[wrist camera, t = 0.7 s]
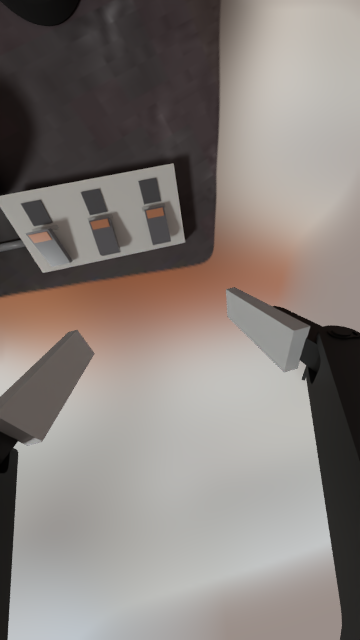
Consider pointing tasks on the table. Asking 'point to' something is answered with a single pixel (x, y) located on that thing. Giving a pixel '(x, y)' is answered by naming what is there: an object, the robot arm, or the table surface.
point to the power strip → (96, 213)
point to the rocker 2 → (105, 236)
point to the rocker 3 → (157, 225)
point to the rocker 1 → (50, 247)
